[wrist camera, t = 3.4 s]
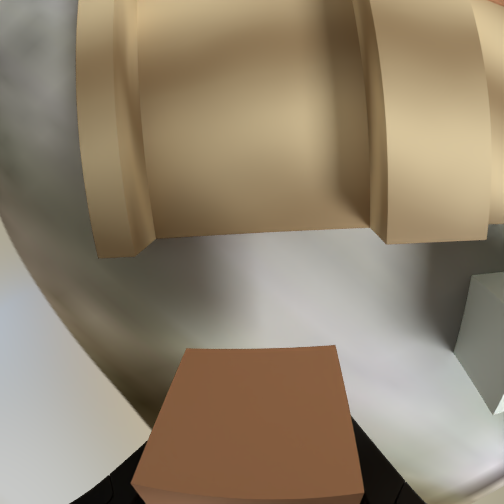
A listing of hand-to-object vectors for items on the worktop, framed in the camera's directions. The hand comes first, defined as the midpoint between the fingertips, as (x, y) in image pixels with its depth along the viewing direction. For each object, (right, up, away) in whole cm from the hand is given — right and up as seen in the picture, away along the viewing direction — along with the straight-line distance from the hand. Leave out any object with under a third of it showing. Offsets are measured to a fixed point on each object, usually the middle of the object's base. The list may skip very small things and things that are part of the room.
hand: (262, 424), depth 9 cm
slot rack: (+6, +12, +1) cm, 13 cm away
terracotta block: (0, 0, +1) cm, 1 cm away
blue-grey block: (+12, +2, +4) cm, 13 cm away
